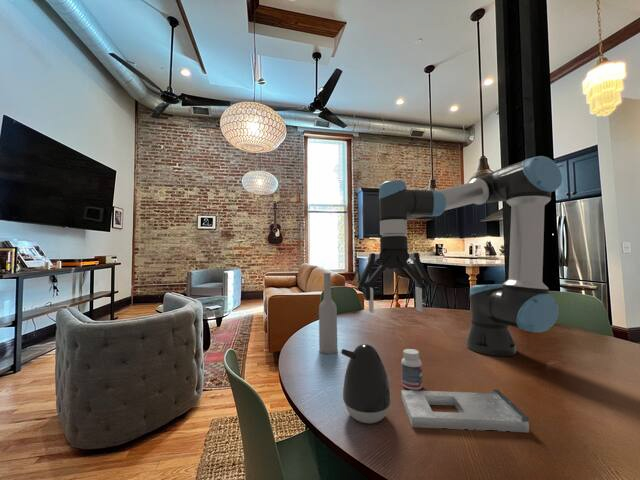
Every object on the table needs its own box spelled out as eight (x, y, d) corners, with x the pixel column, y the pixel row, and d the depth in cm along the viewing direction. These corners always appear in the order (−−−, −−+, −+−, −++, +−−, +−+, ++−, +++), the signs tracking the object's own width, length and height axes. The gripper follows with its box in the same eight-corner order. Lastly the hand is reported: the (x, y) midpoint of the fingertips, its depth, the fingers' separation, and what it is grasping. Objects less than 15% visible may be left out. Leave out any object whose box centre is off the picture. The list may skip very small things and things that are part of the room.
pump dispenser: (339, 404, 64) (337, 338, 65) (382, 402, 65) (380, 336, 66) (346, 433, 54) (345, 354, 55) (398, 429, 55) (396, 351, 56)
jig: (498, 402, 64) (497, 389, 65) (529, 432, 54) (528, 417, 54) (401, 398, 67) (401, 386, 67) (412, 427, 56) (411, 412, 56)
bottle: (320, 347, 104) (319, 272, 106) (337, 347, 104) (336, 272, 105) (318, 353, 98) (317, 273, 99) (337, 354, 97) (335, 273, 98)
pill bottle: (424, 391, 70) (423, 355, 71) (402, 389, 71) (401, 354, 72) (421, 381, 75) (419, 348, 76) (401, 380, 76) (400, 347, 77)
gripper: (431, 236, 83) (433, 307, 82) (348, 237, 82) (349, 309, 81) (442, 234, 76) (445, 313, 75) (351, 235, 75) (353, 314, 74)
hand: (395, 311), depth 78 cm, fingers open, 13 cm apart
